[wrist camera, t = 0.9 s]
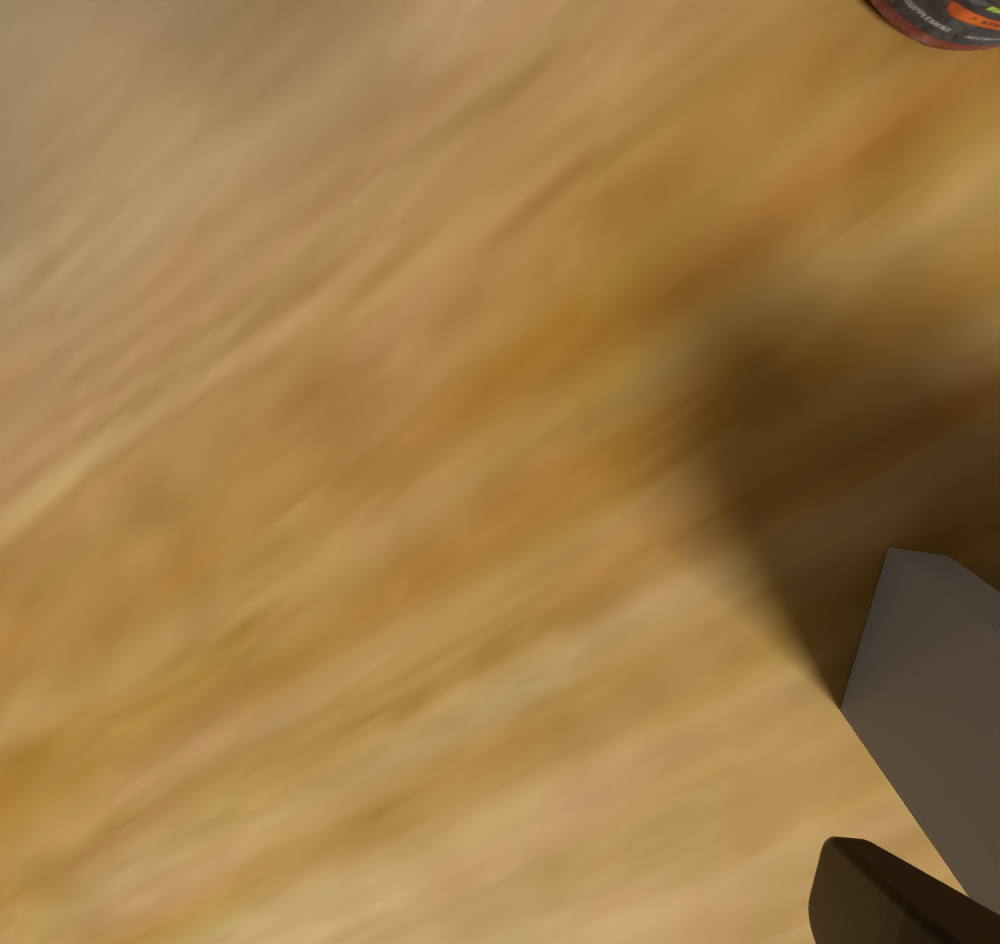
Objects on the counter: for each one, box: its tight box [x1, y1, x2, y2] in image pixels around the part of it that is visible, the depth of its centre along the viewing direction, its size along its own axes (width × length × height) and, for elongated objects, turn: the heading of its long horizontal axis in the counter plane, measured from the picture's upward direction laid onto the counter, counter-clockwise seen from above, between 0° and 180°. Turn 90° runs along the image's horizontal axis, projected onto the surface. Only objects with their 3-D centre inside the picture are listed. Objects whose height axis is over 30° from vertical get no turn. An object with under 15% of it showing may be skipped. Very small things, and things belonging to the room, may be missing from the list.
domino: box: [840, 547, 1000, 915], centre depth 17 cm, size 2×5×10 cm, turn 172°
